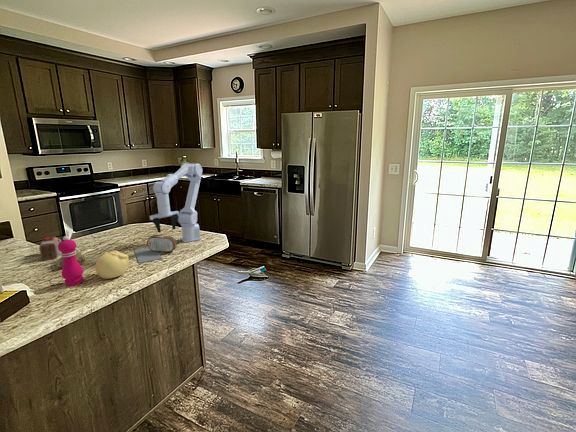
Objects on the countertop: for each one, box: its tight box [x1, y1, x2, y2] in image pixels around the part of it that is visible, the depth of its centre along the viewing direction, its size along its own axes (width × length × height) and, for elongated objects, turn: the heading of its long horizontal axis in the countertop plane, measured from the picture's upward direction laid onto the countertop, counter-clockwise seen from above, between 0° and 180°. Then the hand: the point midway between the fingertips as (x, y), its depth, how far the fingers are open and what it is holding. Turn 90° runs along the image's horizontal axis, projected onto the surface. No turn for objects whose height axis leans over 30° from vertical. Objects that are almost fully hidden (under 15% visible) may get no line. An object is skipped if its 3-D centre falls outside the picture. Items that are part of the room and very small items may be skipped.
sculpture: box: [94, 250, 130, 280], centre depth 129 cm, size 11×12×11 cm
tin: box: [146, 234, 178, 253], centre depth 156 cm, size 15×3×8 cm, turn 84°
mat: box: [133, 247, 163, 264], centre depth 154 cm, size 10×20×1 cm, turn 32°
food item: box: [39, 236, 62, 261], centre depth 153 cm, size 14×8×10 cm, turn 31°
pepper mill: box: [58, 235, 85, 287], centre depth 122 cm, size 7×7×20 cm
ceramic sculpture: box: [56, 246, 86, 268], centre depth 143 cm, size 11×9×15 cm
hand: (166, 230), depth 158 cm, fingers open, 7 cm apart
